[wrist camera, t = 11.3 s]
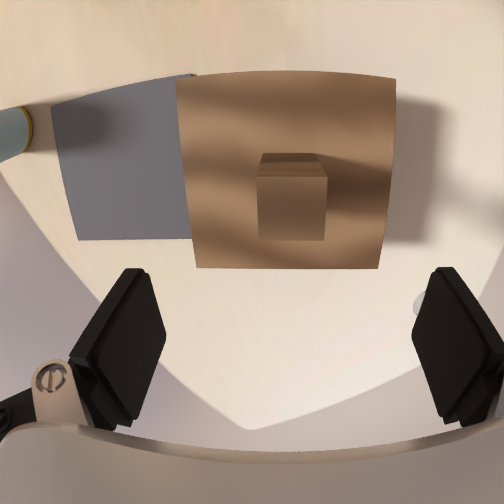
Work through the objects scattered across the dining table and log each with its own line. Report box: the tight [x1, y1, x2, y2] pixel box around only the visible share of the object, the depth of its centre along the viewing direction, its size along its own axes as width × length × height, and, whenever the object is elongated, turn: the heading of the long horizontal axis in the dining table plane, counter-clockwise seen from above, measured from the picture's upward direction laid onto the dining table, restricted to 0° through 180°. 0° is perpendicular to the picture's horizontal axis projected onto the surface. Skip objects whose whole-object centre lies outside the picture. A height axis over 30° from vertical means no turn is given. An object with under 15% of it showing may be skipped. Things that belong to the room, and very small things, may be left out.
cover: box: [175, 71, 396, 269], centre depth 21 cm, size 17×17×8 cm
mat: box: [51, 74, 192, 240], centre depth 33 cm, size 19×19×1 cm
